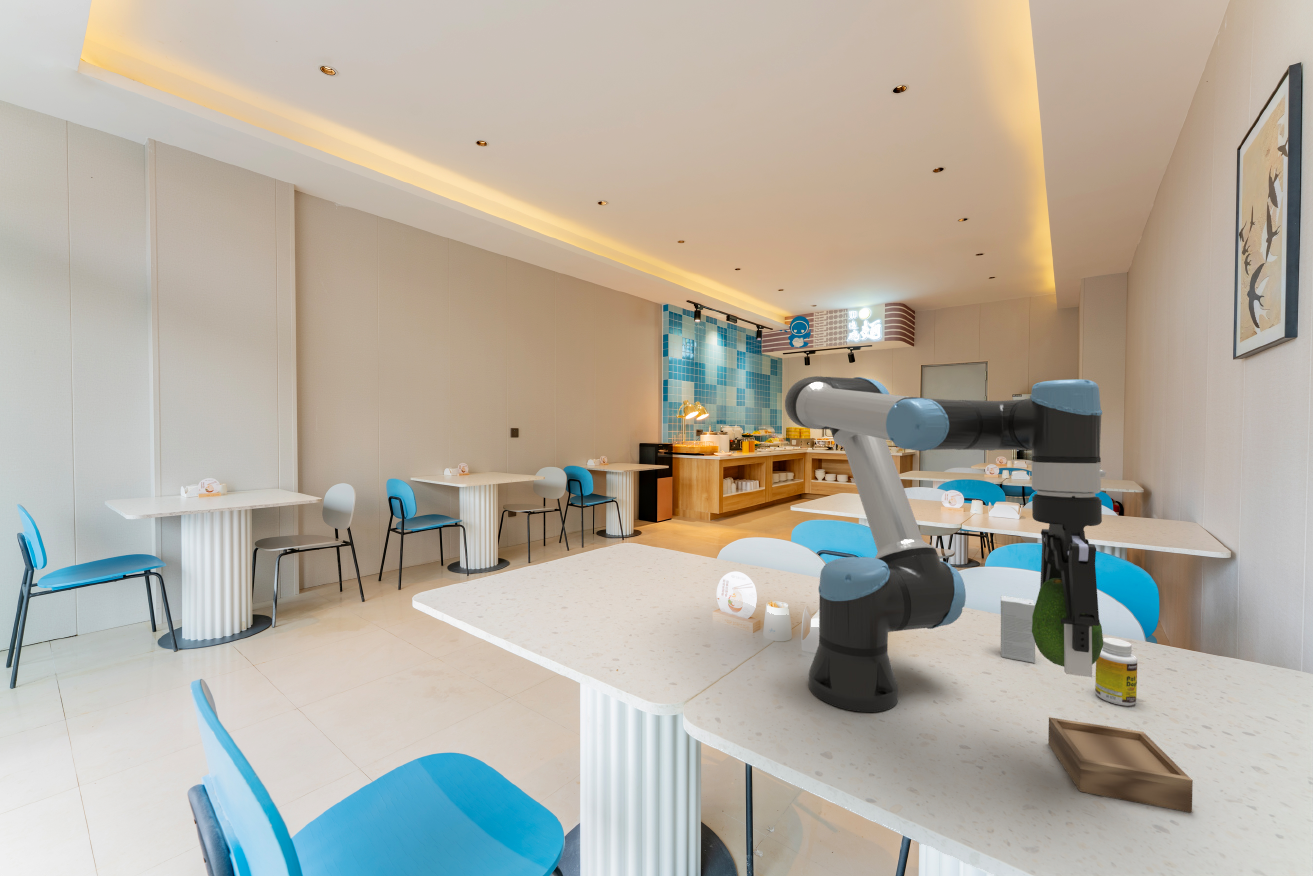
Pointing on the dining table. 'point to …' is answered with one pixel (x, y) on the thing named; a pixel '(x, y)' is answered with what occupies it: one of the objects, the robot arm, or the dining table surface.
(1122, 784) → the wooden tray
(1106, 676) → the supplement bottle
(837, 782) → the dining table surface
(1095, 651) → the avocado
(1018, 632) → the skincare box
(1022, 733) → the dining table surface
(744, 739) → the dining table surface
